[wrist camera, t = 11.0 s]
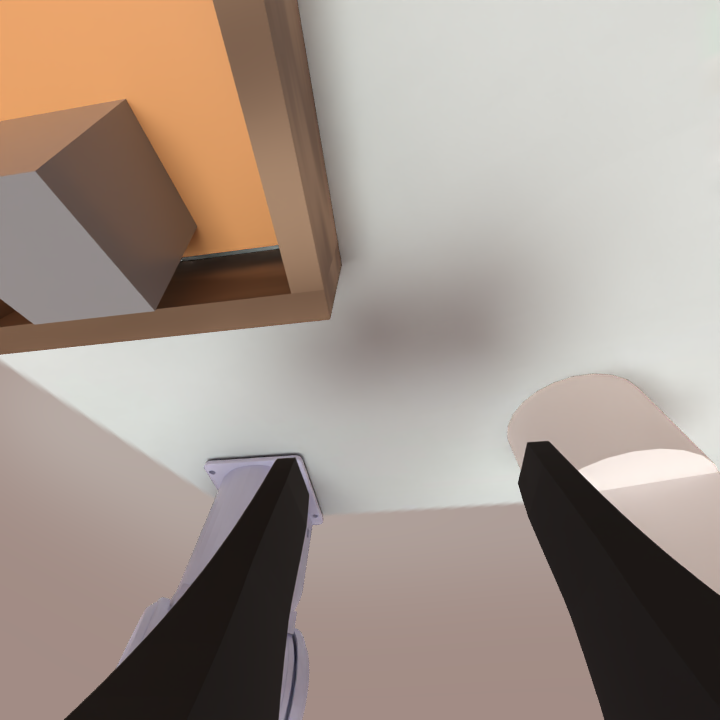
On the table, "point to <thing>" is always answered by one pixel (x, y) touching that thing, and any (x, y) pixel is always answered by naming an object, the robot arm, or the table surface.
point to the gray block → (86, 215)
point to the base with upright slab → (631, 462)
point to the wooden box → (283, 195)
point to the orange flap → (146, 97)
